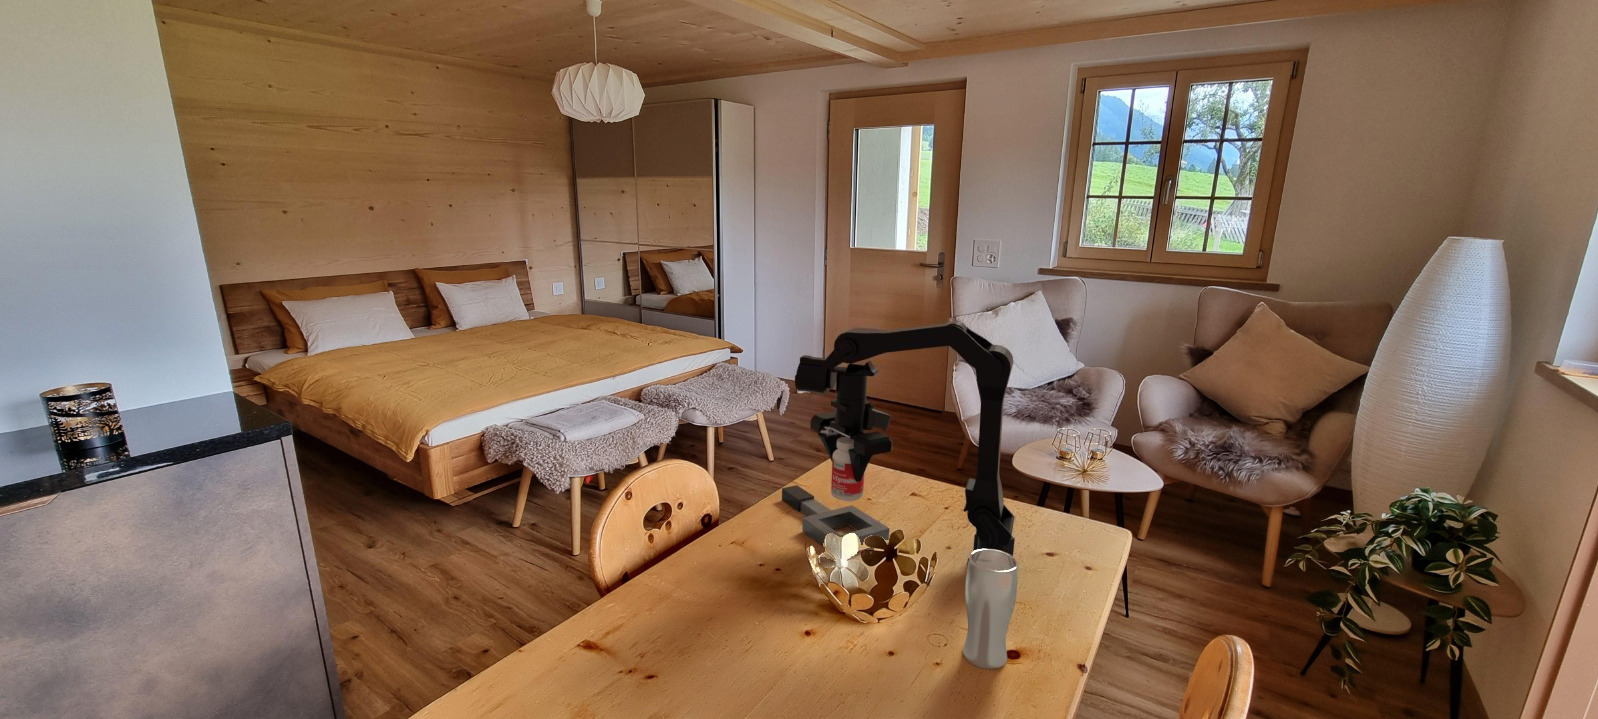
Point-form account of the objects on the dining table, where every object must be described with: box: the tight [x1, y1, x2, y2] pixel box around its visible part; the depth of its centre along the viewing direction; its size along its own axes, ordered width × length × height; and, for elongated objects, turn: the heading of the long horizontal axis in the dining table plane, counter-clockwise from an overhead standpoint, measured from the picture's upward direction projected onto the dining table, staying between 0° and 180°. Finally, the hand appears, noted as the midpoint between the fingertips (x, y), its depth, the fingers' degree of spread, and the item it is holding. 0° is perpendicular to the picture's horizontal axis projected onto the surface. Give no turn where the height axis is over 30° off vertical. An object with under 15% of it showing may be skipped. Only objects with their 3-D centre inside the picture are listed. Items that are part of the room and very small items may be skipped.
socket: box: [781, 484, 890, 548], centre depth 140 cm, size 27×12×3 cm, turn 32°
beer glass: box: [962, 549, 1019, 670], centre depth 97 cm, size 7×7×15 cm
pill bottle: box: [830, 437, 865, 502], centre depth 131 cm, size 6×6×11 cm
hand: (847, 475), depth 131 cm, fingers closed on pill bottle, 6 cm apart
